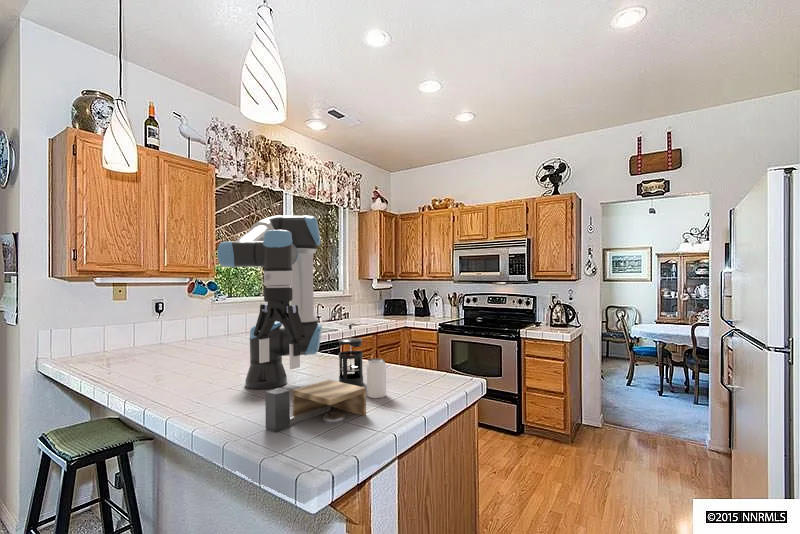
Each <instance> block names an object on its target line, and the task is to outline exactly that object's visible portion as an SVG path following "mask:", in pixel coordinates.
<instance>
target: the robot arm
mask: <svg viewBox="0 0 800 534" xmlns="http://www.w3.org/2000/svg"><path fill="white" fill-rule="evenodd" d="M321 243H322V242H321V234H320V227H319V224H318V219H317V218H316V216H313V215H304V214H303V215H274V216H269V217H266V218H262V219H260V220H258V221H257V222H255V223H254V224H252V225H251V227H250V228H249V230H248V232H246V233H245V234H243V235H242V236H241V237H239V238H238V239H236V240H235V241H232V240H228V241H221V242H220V243H218V244H219V245H218V246H217V261H218V263H219V265H220V266H222V267H225V268H249V267H250V268H252V267H255V268H256V267H258V268H259V267H263V286H265V288H264V289H263V301H264V302H266V303H261V304H260V305H259V313H258V317H257V319H256V323H255V325H254V326H252V327H251V328H250V331H249V339H248V340H249V368H248V371H247V374H246V377H245V382H244V383H245V384H244V385H245V387H246V388H247V389H251V390H266V389H273V388H274V389H275V388H279V387H281V386H284V385H286V384H287V383H288V376H287V373H286V370H285V367H284V365H283V357H287V356H288V357H289V370H295V369H298V368H301V360H300V359H301V357H300V356H310V355H316V354H317V353H319V348H320V345H321V344H320V343H321V338H322V324H320V323H319V321H318V318H317V317H316V316H315V313H314V311H315V310H314V309H315V308H314V305H315V304H314V254H315V253H316V252H317V251H318V250H317V249H318V247H319V246H321Z"/></svg>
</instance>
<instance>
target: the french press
mask: <svg viewBox="0 0 800 534" xmlns="http://www.w3.org/2000/svg"><path fill="white" fill-rule="evenodd" d="M344 326H348V329H349V337H346V338H342V339H338V343H339V347H341V346H344V345H349V350H346V351H340V352H338V358H339V361H338V362H339V365H338V366H339V376H338V382H342V383H347V384H351V385H356V386H360V387H364V386H365V385H364V384H365V383H364V375H363V372H364V371H363V356H364V355H363V354H364V353H363V351H361V350H352V347H353V348H359V347H362V342H363V339H362V338H357V337H356V338H355V337H352V326H356V323H349V322H348V323H345V324H344ZM348 360H350V361H349V362H350V364H349V365H348ZM352 360H353V361H354V362H353V363H354V365H352Z"/></svg>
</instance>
